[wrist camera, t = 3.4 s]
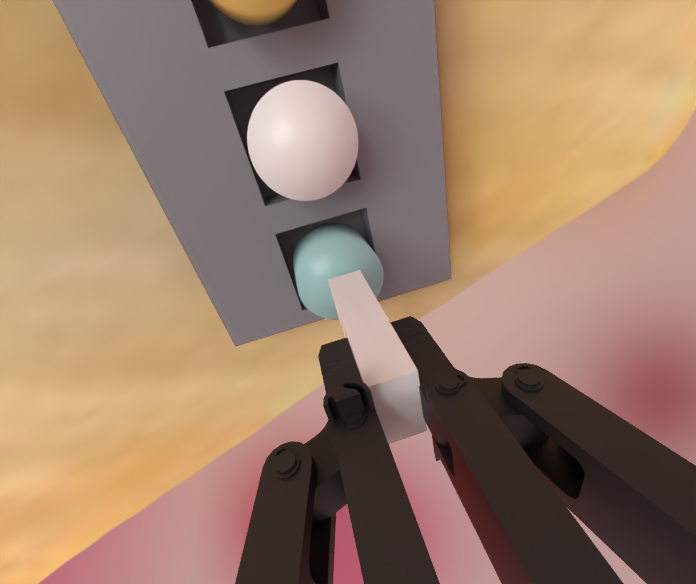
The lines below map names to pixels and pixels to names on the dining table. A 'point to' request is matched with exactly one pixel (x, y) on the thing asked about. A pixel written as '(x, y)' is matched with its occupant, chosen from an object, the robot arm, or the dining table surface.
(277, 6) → the button ochre
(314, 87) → the button white
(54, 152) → the dining table surface
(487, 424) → the robot arm
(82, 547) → the dining table surface
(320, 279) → the button teal
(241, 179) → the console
